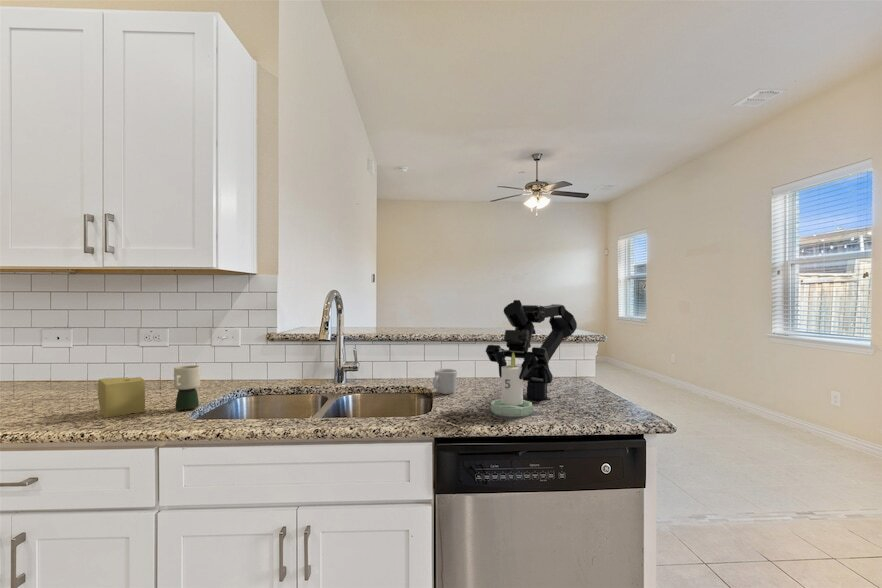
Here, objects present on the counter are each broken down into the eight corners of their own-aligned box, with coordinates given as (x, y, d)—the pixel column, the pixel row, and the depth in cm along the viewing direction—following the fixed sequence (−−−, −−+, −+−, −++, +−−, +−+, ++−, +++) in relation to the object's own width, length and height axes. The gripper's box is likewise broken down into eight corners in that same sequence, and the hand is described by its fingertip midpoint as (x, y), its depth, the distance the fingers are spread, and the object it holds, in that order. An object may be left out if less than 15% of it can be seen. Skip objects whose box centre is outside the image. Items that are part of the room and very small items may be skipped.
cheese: (138, 406, 140) (138, 374, 140) (146, 412, 132) (146, 379, 132) (97, 412, 133) (97, 379, 133) (103, 419, 125) (103, 384, 125)
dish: (511, 404, 140) (511, 396, 140) (540, 413, 130) (540, 404, 130) (483, 410, 133) (482, 402, 133) (511, 419, 123) (511, 410, 123)
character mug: (187, 404, 142) (187, 364, 142) (208, 405, 141) (208, 364, 141) (163, 413, 131) (163, 369, 131) (186, 414, 130) (186, 370, 130)
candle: (497, 403, 131) (497, 352, 131) (506, 398, 136) (506, 350, 136) (517, 406, 127) (517, 354, 127) (526, 401, 133) (526, 351, 133)
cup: (443, 398, 151) (443, 374, 151) (425, 394, 156) (425, 372, 156) (461, 392, 160) (461, 370, 160) (443, 389, 165) (443, 368, 165)
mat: (511, 405, 141) (511, 404, 141) (543, 414, 130) (543, 413, 130) (480, 411, 133) (480, 410, 133) (511, 421, 123) (511, 420, 123)
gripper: (487, 319, 140) (473, 359, 130) (546, 320, 130) (535, 363, 121) (497, 341, 147) (484, 380, 137) (553, 344, 137) (543, 386, 128)
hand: (510, 377), depth 131 cm, fingers closed on candle, 6 cm apart
